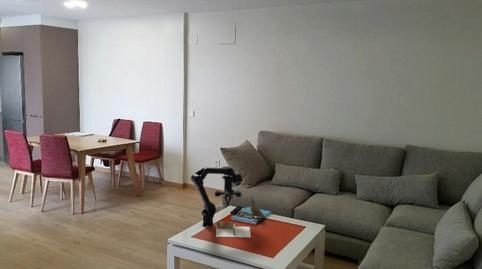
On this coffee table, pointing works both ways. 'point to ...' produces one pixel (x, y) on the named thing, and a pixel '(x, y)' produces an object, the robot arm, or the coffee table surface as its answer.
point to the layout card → (229, 232)
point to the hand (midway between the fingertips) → (227, 205)
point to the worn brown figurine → (255, 209)
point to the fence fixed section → (224, 224)
